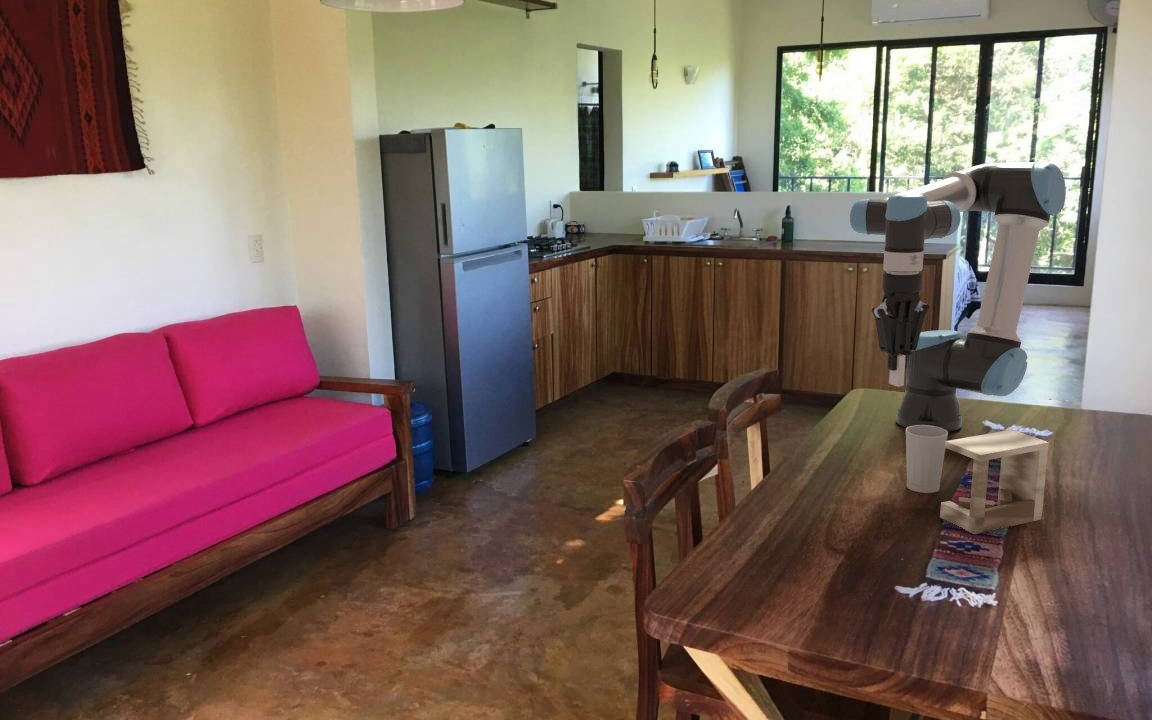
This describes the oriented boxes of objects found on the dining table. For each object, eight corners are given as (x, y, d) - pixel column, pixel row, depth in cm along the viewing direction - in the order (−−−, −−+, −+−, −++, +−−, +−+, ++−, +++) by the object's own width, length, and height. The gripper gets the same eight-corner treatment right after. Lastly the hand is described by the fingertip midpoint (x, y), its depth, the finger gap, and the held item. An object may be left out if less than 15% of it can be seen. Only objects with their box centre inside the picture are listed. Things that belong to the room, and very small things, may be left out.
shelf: (940, 517, 175) (945, 441, 171) (1005, 503, 180) (1011, 429, 177) (974, 534, 167) (980, 455, 164) (1041, 519, 173) (1048, 442, 169)
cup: (947, 495, 185) (951, 437, 182) (905, 493, 187) (908, 436, 184) (940, 481, 193) (944, 425, 190) (899, 479, 194) (903, 424, 192)
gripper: (889, 276, 183) (882, 392, 188) (941, 271, 187) (934, 385, 193) (864, 272, 190) (858, 384, 195) (915, 267, 194) (908, 377, 200)
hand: (896, 384), depth 194 cm, fingers closed
